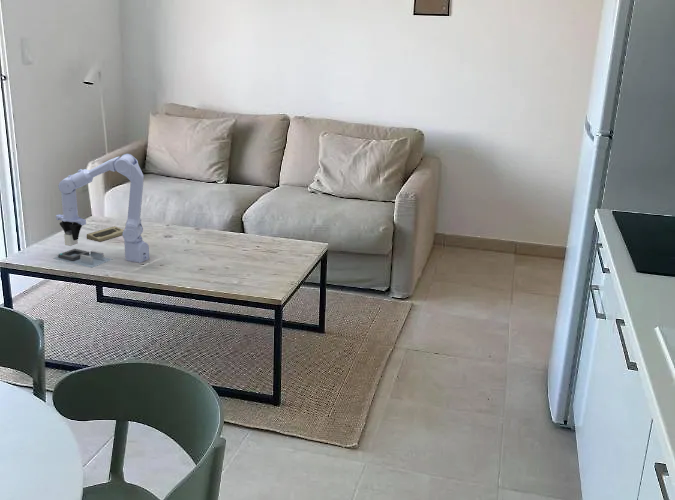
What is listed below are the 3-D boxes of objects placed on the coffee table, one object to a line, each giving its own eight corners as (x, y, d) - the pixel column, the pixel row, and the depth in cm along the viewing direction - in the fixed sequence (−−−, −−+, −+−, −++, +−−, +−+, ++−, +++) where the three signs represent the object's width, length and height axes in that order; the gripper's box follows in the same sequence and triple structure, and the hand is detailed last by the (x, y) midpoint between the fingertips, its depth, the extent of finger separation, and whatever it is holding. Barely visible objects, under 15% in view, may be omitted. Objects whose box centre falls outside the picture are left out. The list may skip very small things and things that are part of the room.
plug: (77, 243, 298) (76, 230, 296) (70, 246, 295) (69, 233, 293) (72, 242, 299) (71, 229, 297) (65, 244, 296) (63, 232, 294)
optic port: (89, 255, 302) (88, 251, 301) (73, 261, 294) (72, 257, 293) (74, 251, 305) (74, 247, 304) (58, 257, 297) (58, 253, 297)
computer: (98, 243, 321) (97, 236, 320) (86, 240, 325) (85, 232, 324) (126, 235, 333) (125, 228, 332) (114, 232, 337) (113, 225, 336)
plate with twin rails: (103, 259, 297) (103, 253, 296) (91, 264, 291) (91, 257, 290) (92, 257, 299) (92, 250, 298) (80, 262, 294) (80, 255, 293)
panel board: (113, 261, 299) (113, 259, 298) (91, 270, 288) (91, 267, 288) (75, 252, 307) (74, 250, 307) (53, 260, 297) (53, 258, 296)
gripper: (49, 206, 292) (51, 238, 296) (75, 212, 286) (78, 244, 291) (62, 202, 298) (65, 234, 302) (88, 208, 292) (91, 240, 297)
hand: (72, 238), depth 297 cm, fingers closed on plug, 3 cm apart
